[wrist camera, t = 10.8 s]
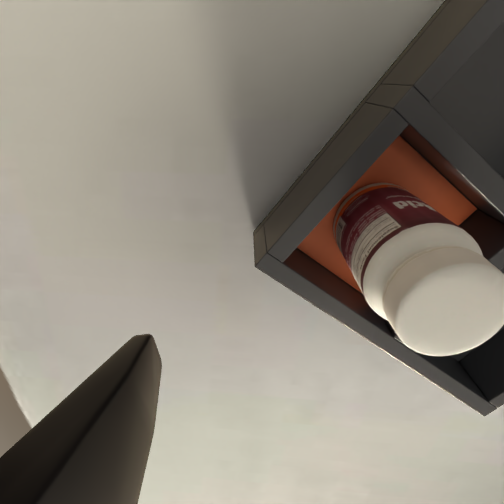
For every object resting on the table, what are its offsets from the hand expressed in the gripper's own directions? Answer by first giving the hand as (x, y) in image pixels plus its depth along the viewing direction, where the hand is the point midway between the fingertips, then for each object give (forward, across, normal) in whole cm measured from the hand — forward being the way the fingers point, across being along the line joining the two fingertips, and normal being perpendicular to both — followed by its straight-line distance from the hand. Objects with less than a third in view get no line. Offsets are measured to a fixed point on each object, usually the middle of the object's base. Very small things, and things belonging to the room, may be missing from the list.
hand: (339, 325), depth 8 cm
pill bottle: (+11, -5, +3) cm, 13 cm away
